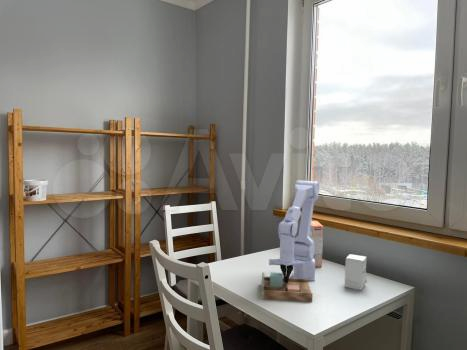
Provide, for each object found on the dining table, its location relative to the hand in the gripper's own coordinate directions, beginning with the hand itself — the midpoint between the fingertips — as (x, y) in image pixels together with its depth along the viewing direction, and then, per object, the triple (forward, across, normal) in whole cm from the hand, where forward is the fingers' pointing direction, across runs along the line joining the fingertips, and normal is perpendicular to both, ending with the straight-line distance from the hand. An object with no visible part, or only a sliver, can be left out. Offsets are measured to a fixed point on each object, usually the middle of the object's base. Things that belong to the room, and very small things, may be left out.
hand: (286, 282), depth 146 cm
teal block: (+1, -4, 0) cm, 4 cm away
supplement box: (+3, +30, +8) cm, 31 cm away
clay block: (+3, +2, -7) cm, 8 cm away
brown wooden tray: (+3, 0, -3) cm, 4 cm away
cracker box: (+3, +16, +37) cm, 40 cm away
